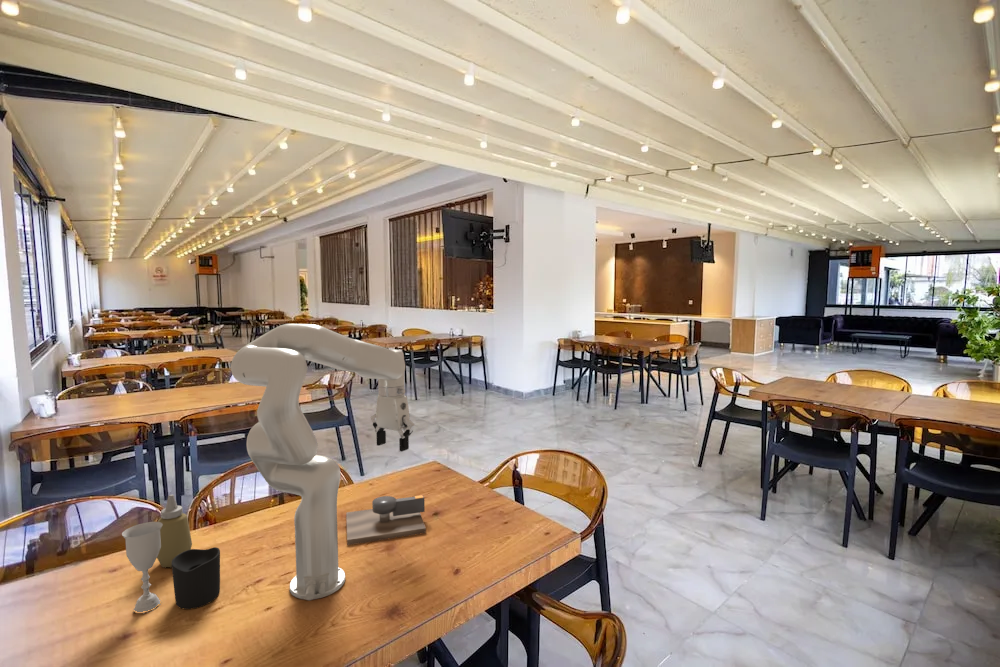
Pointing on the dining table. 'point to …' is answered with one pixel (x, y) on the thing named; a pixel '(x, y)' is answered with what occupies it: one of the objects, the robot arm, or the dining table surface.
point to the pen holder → (196, 577)
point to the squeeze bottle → (173, 532)
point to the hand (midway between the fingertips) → (392, 447)
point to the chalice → (144, 557)
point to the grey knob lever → (398, 505)
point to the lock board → (381, 526)
